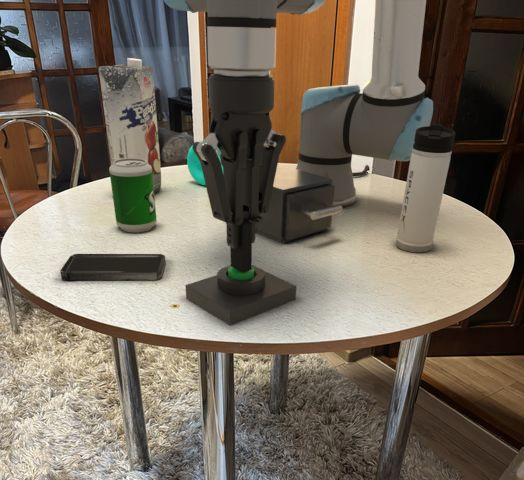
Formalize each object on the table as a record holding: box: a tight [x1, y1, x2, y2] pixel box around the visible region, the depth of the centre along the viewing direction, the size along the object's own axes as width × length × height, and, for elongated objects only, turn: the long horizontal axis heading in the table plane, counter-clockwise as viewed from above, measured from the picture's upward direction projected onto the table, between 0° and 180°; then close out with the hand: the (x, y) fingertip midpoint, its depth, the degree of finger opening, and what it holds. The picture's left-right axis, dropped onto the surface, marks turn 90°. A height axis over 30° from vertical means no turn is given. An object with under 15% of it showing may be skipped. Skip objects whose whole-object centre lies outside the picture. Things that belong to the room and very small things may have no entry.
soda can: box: [108, 158, 157, 233], centre depth 94 cm, size 8×8×12 cm
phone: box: [59, 253, 167, 281], centre depth 80 cm, size 8×1×15 cm
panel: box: [185, 264, 297, 326], centre depth 72 cm, size 12×10×4 cm
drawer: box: [283, 185, 344, 240], centre depth 95 cm, size 18×11×8 cm, turn 42°
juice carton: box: [98, 57, 162, 194], centre depth 109 cm, size 9×10×27 cm
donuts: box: [186, 140, 223, 187], centre depth 124 cm, size 10×10×10 cm
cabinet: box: [255, 164, 332, 244], centre depth 97 cm, size 15×13×10 cm
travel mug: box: [395, 123, 456, 253], centre depth 87 cm, size 6×7×20 cm
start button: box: [228, 265, 254, 280], centre depth 71 cm, size 4×4×2 cm
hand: (241, 267), depth 70 cm, fingers closed
